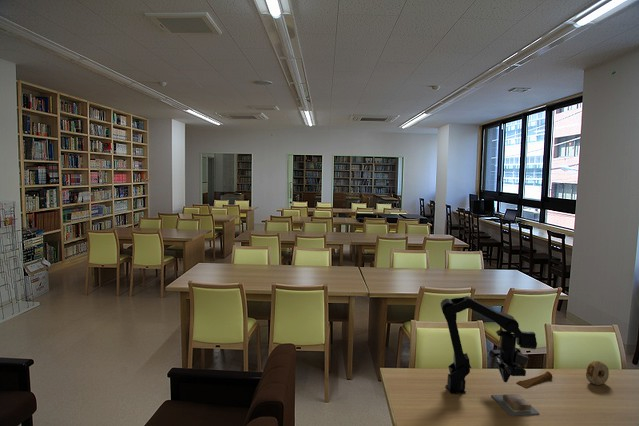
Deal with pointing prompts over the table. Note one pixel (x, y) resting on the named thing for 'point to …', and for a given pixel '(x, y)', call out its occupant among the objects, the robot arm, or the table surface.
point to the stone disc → (597, 373)
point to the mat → (500, 400)
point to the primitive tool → (534, 380)
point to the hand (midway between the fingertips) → (505, 381)
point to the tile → (516, 402)
